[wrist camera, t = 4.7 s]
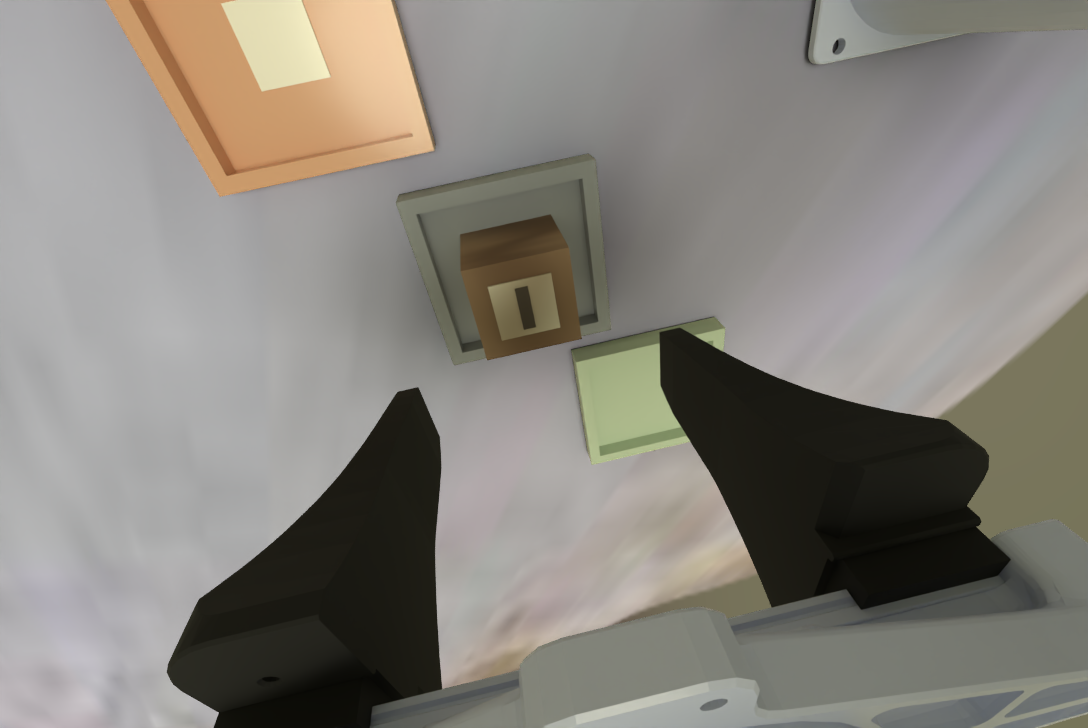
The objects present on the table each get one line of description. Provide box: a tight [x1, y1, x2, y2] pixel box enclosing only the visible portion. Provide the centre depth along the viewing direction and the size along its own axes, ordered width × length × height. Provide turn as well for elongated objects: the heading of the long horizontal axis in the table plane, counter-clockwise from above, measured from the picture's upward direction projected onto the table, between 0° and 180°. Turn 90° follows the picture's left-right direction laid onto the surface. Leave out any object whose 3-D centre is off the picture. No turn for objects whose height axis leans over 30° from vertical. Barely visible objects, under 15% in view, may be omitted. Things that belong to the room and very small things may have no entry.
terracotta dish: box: [106, 0, 436, 197], centre depth 15 cm, size 8×8×1 cm
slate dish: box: [396, 154, 611, 365], centre depth 20 cm, size 8×8×1 cm
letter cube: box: [460, 214, 582, 360], centre depth 19 cm, size 4×4×4 cm
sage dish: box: [571, 317, 725, 465], centre depth 26 cm, size 8×8×1 cm
